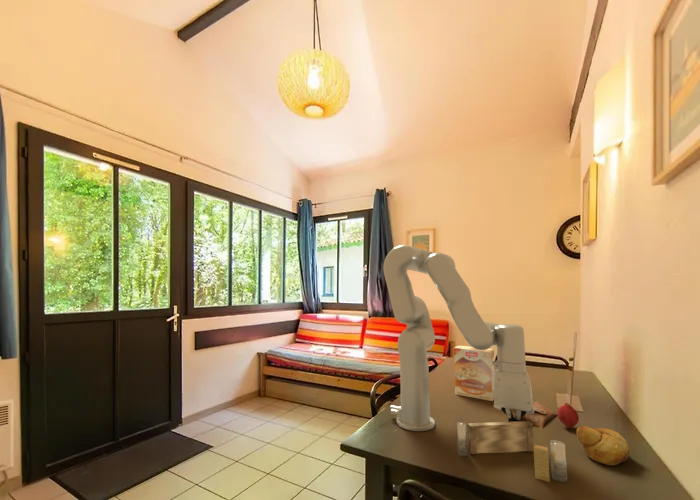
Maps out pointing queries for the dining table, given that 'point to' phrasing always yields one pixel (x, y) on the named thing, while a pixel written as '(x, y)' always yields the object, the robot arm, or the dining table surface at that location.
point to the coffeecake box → (474, 372)
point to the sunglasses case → (539, 415)
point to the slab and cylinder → (556, 462)
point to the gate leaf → (500, 437)
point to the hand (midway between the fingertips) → (514, 431)
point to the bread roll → (603, 445)
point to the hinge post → (462, 439)
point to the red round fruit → (568, 415)
